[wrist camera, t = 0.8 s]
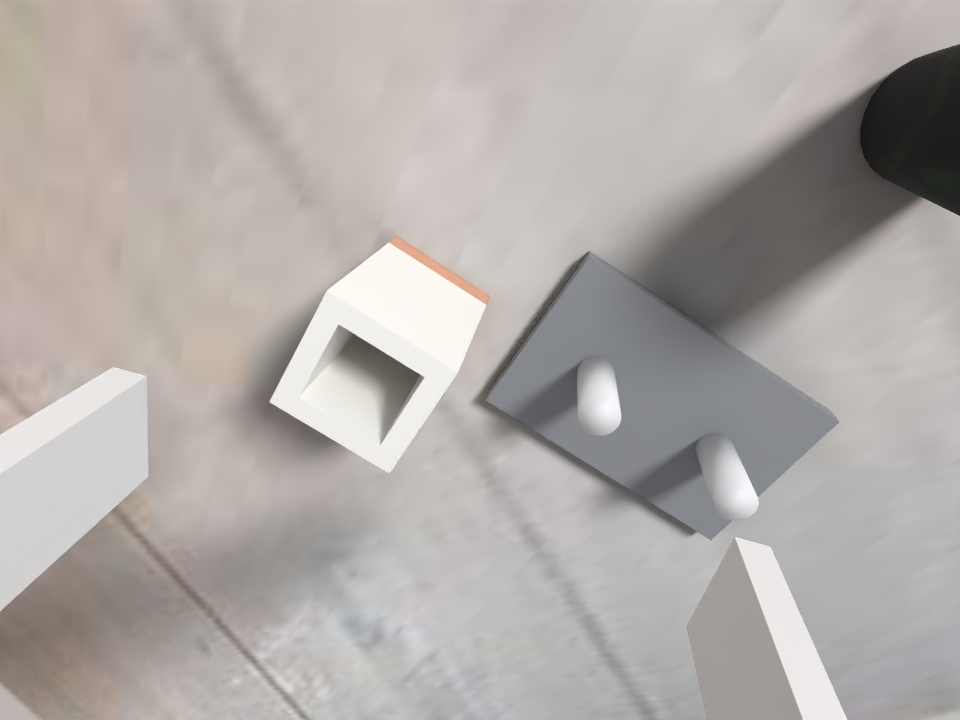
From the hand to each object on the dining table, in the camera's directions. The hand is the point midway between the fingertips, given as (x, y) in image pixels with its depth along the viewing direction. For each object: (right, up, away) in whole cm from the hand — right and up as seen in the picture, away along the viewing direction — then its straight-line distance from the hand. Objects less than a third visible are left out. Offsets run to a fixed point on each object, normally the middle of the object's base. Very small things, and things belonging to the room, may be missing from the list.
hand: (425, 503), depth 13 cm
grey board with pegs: (+11, +1, +21) cm, 23 cm away
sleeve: (-2, +6, +21) cm, 21 cm away
